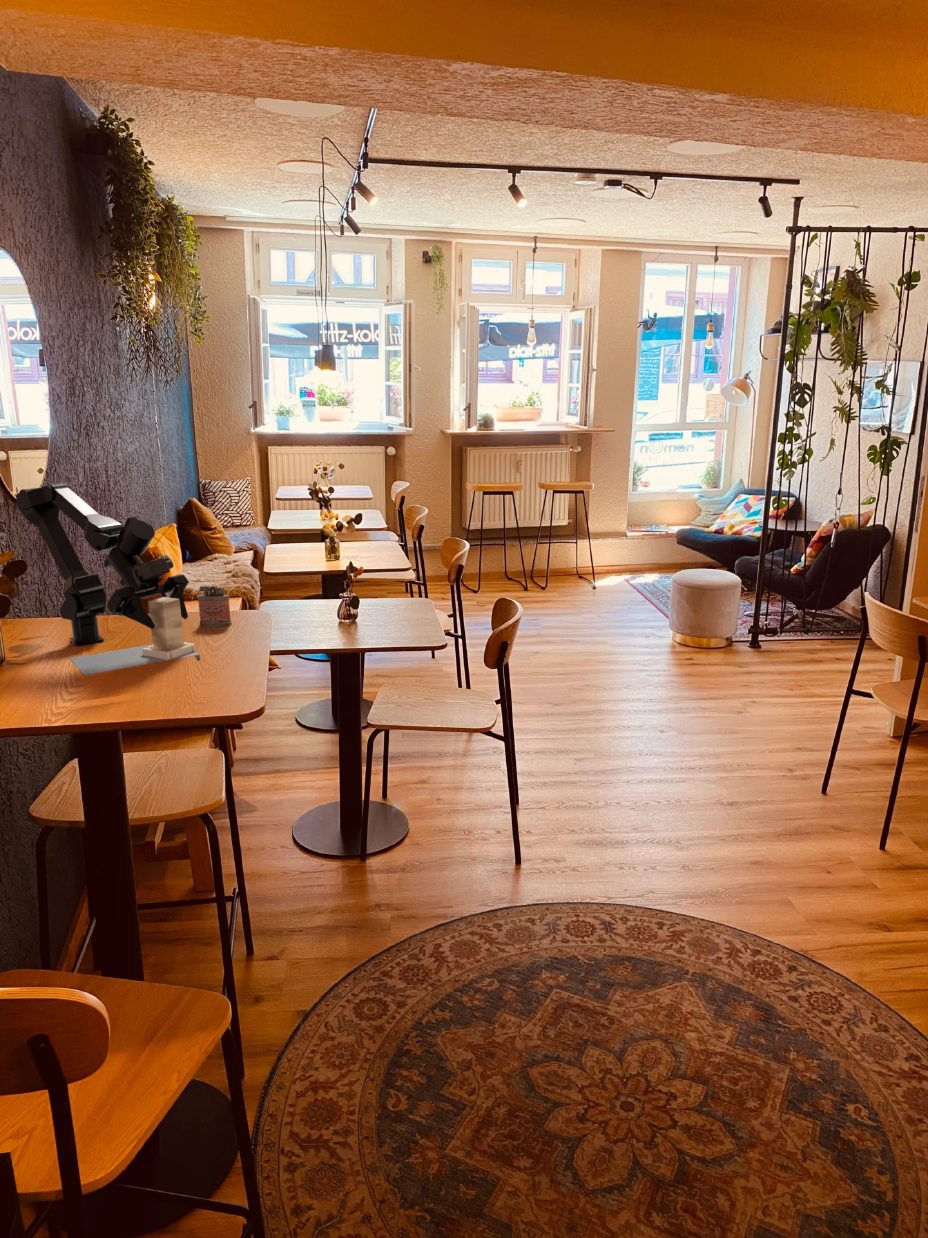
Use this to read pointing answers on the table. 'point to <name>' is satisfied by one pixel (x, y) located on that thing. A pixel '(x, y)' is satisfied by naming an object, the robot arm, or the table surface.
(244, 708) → the table surface
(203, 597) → the lighter
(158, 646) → the birch pillar
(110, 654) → the plate
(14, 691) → the table surface
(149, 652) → the socket
